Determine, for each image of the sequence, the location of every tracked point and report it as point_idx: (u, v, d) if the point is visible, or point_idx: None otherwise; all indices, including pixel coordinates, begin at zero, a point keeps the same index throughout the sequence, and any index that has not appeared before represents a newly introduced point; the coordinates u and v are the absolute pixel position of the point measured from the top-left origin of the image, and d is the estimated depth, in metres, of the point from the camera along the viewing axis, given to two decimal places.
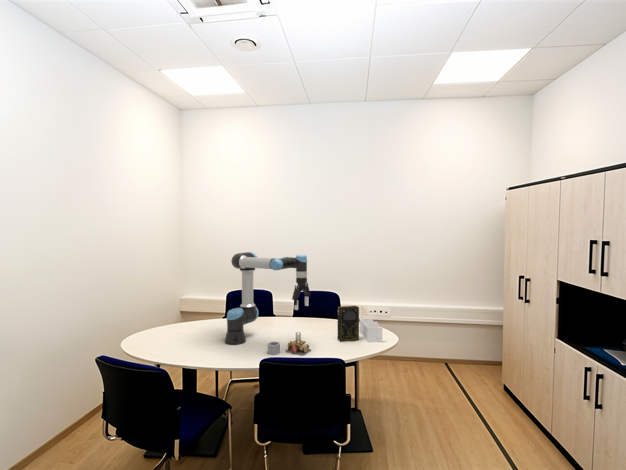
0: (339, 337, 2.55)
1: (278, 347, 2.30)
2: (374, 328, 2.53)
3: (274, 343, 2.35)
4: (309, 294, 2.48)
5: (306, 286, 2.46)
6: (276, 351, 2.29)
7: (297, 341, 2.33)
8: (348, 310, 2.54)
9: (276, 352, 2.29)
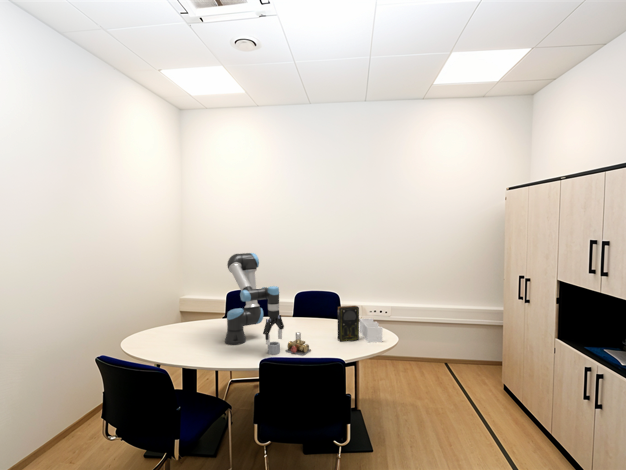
0: (339, 337, 2.55)
1: (278, 347, 2.30)
2: (374, 328, 2.53)
3: (274, 343, 2.35)
4: (282, 326, 2.39)
5: (279, 318, 2.37)
6: (276, 351, 2.29)
7: (297, 341, 2.33)
8: (348, 310, 2.54)
9: (276, 352, 2.29)
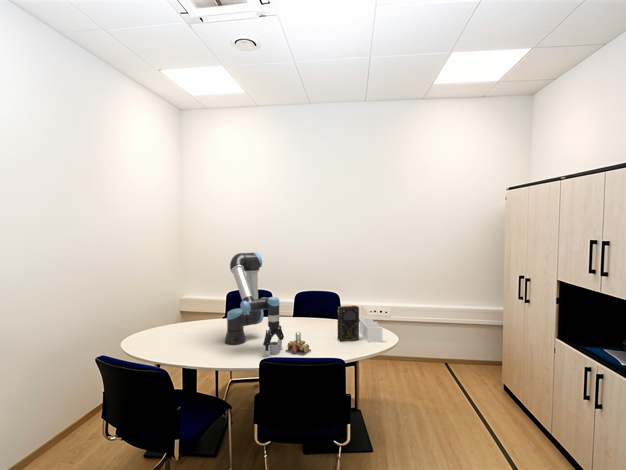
0: (339, 337, 2.55)
1: (278, 347, 2.30)
2: (374, 328, 2.53)
3: (274, 343, 2.35)
4: (282, 337, 2.39)
5: (279, 329, 2.37)
6: (276, 351, 2.29)
7: (297, 341, 2.33)
8: (348, 310, 2.54)
9: (276, 352, 2.29)
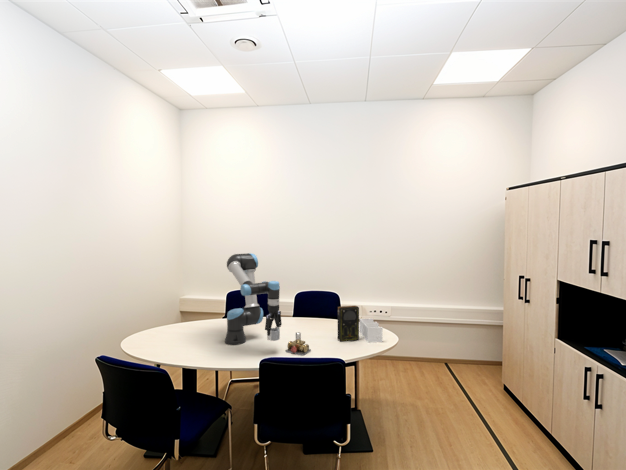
0: (339, 337, 2.55)
1: (278, 333, 2.30)
2: (374, 328, 2.53)
3: (274, 329, 2.35)
4: (280, 324, 2.37)
5: (278, 314, 2.36)
6: (276, 337, 2.29)
7: (297, 341, 2.33)
8: (348, 310, 2.54)
9: (276, 338, 2.29)
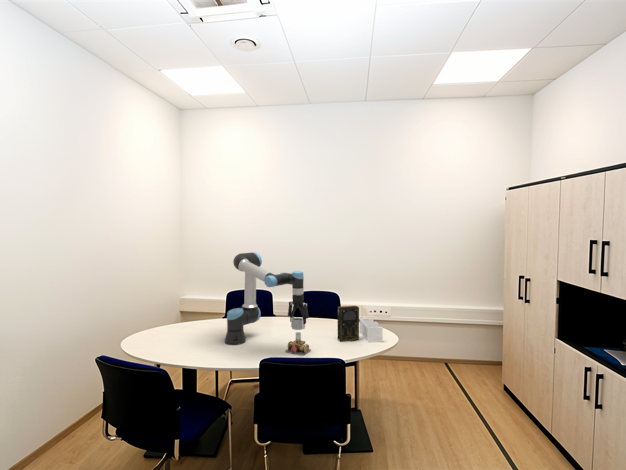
0: (339, 337, 2.55)
1: (294, 323, 2.31)
2: (374, 328, 2.53)
3: None
4: (305, 317, 2.30)
5: (304, 307, 2.31)
6: (292, 326, 2.32)
7: (297, 341, 2.33)
8: (348, 310, 2.54)
9: (292, 327, 2.32)
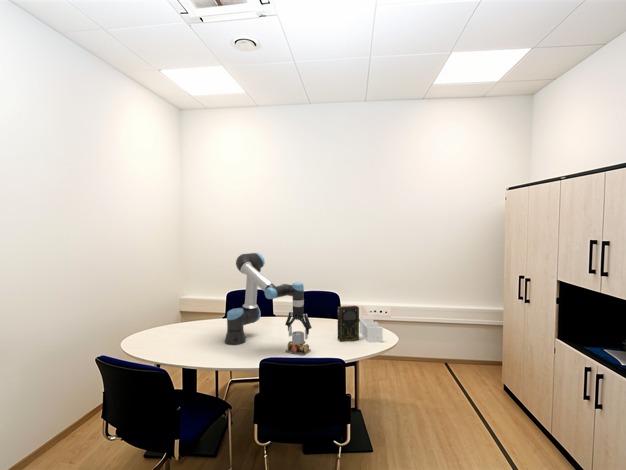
0: (339, 337, 2.55)
1: (294, 337, 2.31)
2: (374, 328, 2.53)
3: (302, 334, 2.34)
4: (308, 328, 2.29)
5: (305, 318, 2.31)
6: (292, 340, 2.32)
7: None
8: (348, 310, 2.54)
9: (292, 341, 2.32)
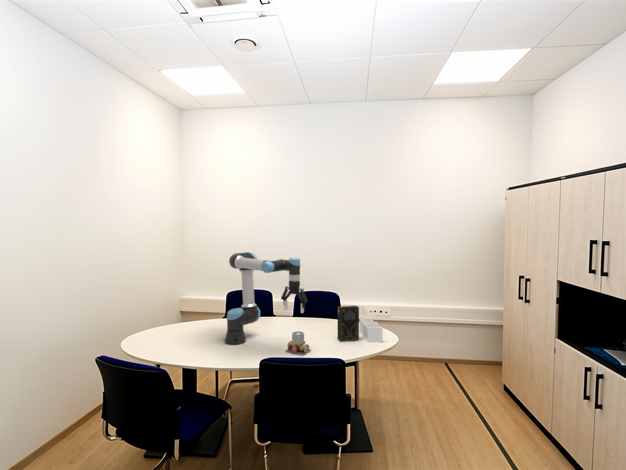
0: (339, 337, 2.55)
1: (294, 337, 2.31)
2: (374, 328, 2.53)
3: (302, 334, 2.34)
4: (304, 301, 2.32)
5: (301, 292, 2.33)
6: (292, 340, 2.32)
7: None
8: (348, 310, 2.54)
9: (292, 341, 2.32)
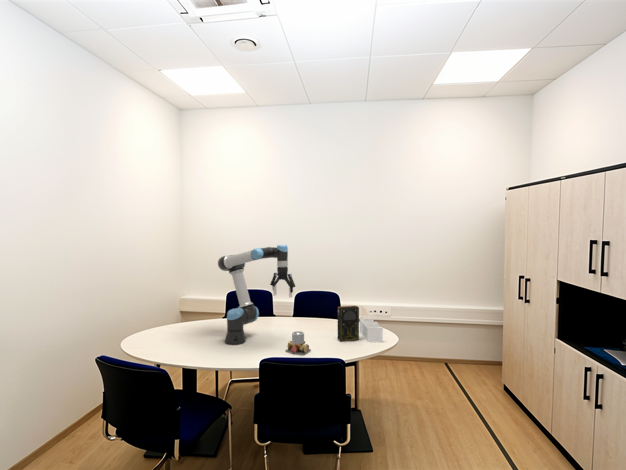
0: (339, 337, 2.55)
1: (294, 337, 2.31)
2: (374, 328, 2.53)
3: (302, 334, 2.34)
4: (292, 286, 2.42)
5: None
6: (292, 340, 2.32)
7: None
8: (348, 310, 2.54)
9: (292, 341, 2.32)
